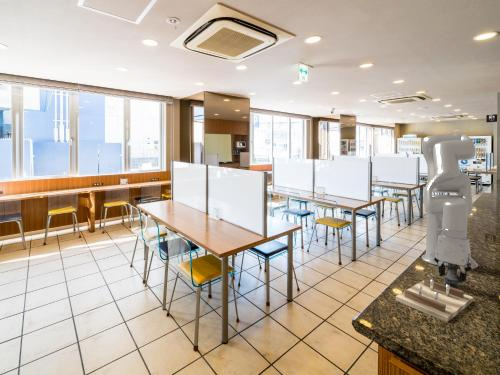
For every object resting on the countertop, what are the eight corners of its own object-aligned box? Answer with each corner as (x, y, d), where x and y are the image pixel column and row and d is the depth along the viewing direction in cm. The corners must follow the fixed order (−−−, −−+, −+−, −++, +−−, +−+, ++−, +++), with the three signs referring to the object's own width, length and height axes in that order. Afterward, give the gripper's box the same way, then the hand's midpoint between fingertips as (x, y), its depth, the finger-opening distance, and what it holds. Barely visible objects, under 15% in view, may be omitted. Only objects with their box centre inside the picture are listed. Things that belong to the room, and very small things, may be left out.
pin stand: (423, 283, 107) (423, 270, 106) (472, 301, 94) (473, 286, 93) (395, 300, 96) (395, 285, 96) (447, 322, 83) (448, 305, 82)
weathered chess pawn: (438, 283, 107) (439, 254, 105) (448, 280, 109) (450, 252, 107) (454, 290, 101) (455, 259, 100) (464, 287, 103) (466, 257, 102)
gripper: (424, 230, 108) (423, 273, 110) (478, 240, 93) (475, 290, 95) (433, 227, 112) (431, 268, 114) (486, 236, 97) (483, 283, 99)
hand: (451, 277), depth 105 cm, fingers closed on weathered chess pawn, 5 cm apart
